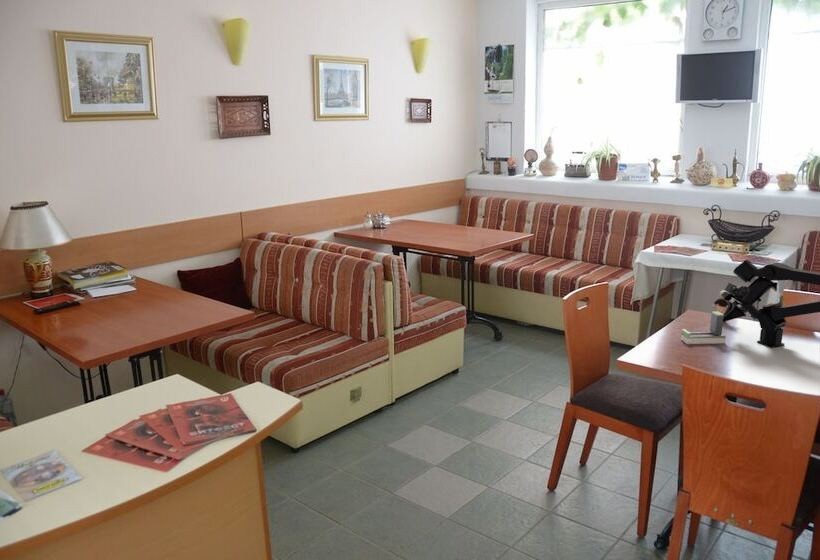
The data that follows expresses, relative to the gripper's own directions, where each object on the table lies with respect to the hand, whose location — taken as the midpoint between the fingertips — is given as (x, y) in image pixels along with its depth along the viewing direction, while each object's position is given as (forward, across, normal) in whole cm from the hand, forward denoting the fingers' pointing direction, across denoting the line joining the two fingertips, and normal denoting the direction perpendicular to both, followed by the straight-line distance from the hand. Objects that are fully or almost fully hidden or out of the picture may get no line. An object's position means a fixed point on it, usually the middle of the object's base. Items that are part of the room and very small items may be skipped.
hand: (722, 320), depth 251 cm
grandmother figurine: (-3, -24, +14) cm, 28 cm away
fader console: (+10, 0, +1) cm, 10 cm away
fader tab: (+5, 0, +2) cm, 6 cm away
